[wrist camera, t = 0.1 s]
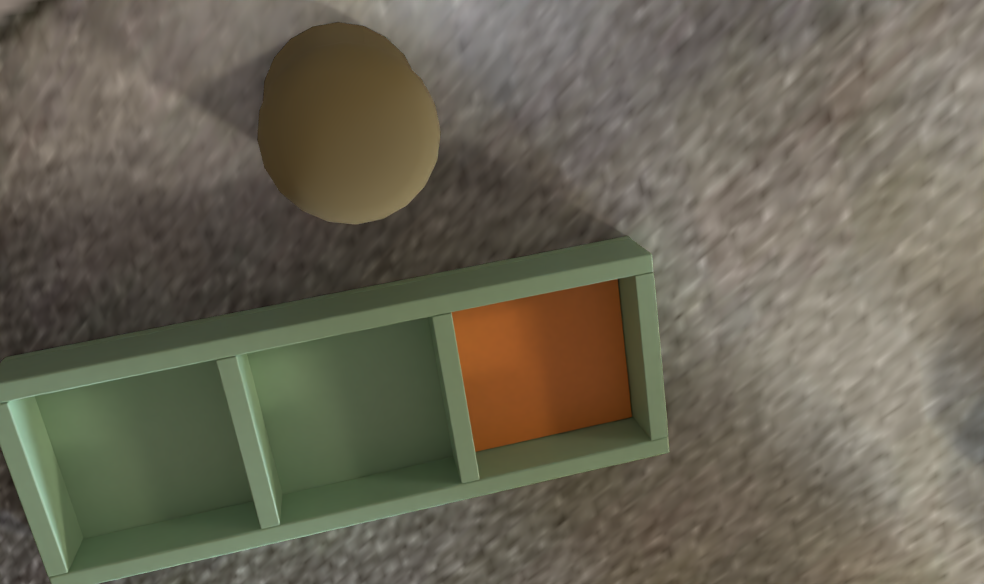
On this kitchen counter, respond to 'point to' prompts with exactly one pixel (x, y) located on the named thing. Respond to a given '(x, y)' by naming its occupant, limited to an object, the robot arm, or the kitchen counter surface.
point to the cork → (346, 125)
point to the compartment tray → (333, 410)
